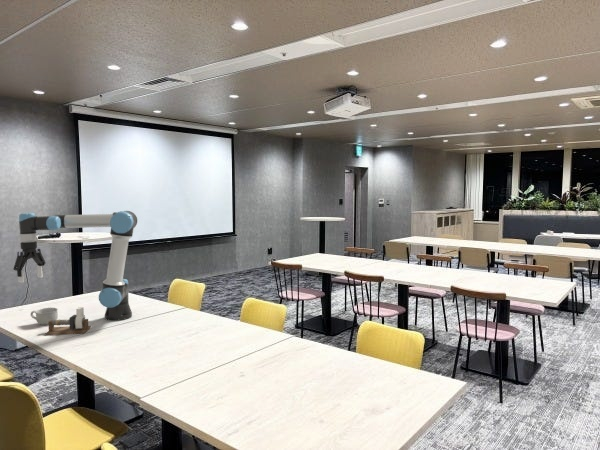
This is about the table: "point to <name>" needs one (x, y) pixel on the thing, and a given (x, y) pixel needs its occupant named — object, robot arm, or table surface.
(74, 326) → the charcoal slab
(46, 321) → the teacup
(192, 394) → the table surface
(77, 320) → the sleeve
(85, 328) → the pipe rig
